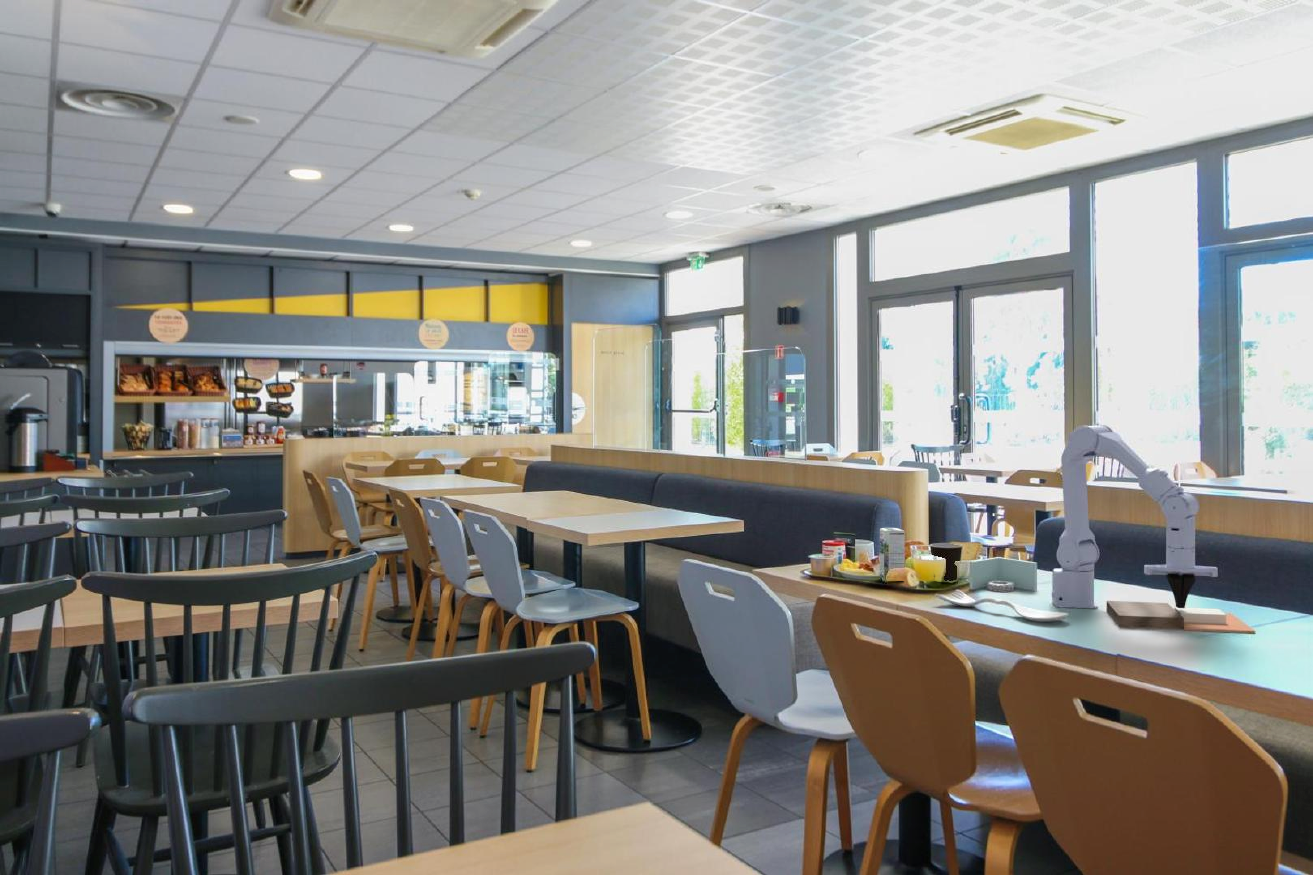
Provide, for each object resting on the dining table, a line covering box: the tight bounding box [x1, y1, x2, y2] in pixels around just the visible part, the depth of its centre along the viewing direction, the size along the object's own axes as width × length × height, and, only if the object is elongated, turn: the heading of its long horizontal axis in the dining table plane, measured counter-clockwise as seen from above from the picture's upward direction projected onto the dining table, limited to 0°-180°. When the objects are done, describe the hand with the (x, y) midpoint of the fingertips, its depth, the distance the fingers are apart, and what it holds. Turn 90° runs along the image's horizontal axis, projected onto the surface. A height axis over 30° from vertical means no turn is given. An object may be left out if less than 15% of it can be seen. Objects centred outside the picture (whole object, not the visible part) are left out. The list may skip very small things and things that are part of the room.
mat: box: [1183, 612, 1256, 634], centre depth 221 cm, size 14×18×1 cm
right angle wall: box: [969, 556, 1038, 593], centre depth 262 cm, size 12×12×8 cm
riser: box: [1106, 600, 1184, 630], centre depth 225 cm, size 13×16×2 cm
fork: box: [935, 589, 1069, 623], centre depth 234 cm, size 9×32×4 cm, turn 37°
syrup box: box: [878, 527, 906, 583], centre depth 277 cm, size 6×6×14 cm
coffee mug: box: [929, 542, 963, 581], centre depth 276 cm, size 12×9×10 cm
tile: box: [1174, 606, 1226, 624], centre depth 222 cm, size 9×6×2 cm, turn 74°
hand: (1180, 607), depth 223 cm, fingers closed
